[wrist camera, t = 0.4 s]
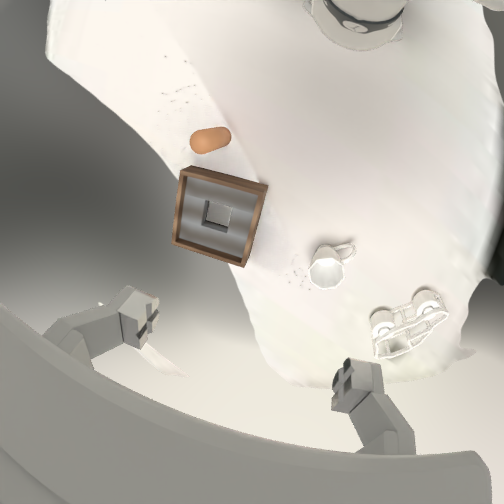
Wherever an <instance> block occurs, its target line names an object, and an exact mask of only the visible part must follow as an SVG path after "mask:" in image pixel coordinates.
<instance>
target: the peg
mask: <svg viewBox="0 0 504 504" xmlns="http://www.w3.org/2000/svg"><path fill="white" fill-rule="evenodd" d="M230 141H231V133H230V131H229V130H228V129H227V128H225V127H215V128H208V129H202V130H197V131H195V132H194V133H193V134H192V135H191V138H190V146H191V148H192V150H193V151H194V152H195V153H197V154H206V153H208V152H211V151H214V150H216V149H219V148H222V147H224V146H227V145H228V144H229V143H230Z"/></svg>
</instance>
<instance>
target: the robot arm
mask: <svg viewBox="0 0 504 504" xmlns="http://www.w3.org/2000/svg"><path fill="white" fill-rule="evenodd" d="M310 1H312V4H310V3H309V2H310ZM408 1H409V0H305V2H304V4H303V8H304V10H305V11H306V12H307V13H308V14H309V15H311V16H312V17H313V18H314V20H315V22H316V23H317V25H318V27H319V29H320V30H321V31H322V33H323V34H324V35H325V36H326V37H327V38H328V39H329V40H331V41H332V42H334V43H335V44H337V45H339V46H341V47H343V48H346V49H350V50H355V51H368V50H373V49H376V48H378V47H380V46H382V45H384V44H385V43H387V42H392V41H399V40H401V39H402V24H403V23H402V16H401V14H402V12H403V9H404V6H405V5H406V3H407V2H408ZM473 1H475V2H477V3H479V4H481V5H483V6H485V7H487V8H489V9H491V10H494V11H504V0H473ZM158 305H159V299H158V298H157V297H155V296H152V295H150V294H148V293H145V292H143V291H141V290H138V289H136V288H133V287H131V286H129V285H127V286H125V287H124V288H123V289H122V290H121V291H120V292H119V293H118V294H117V295H116V296H115V297H114V298H113V300H112V301H111V302H110V303H109V304H108V305H107V306H104V305H102V306H99V307H96V308H92V309H89V310H86V311H83V312H79V313H76V314H72V315H69V316H66V317H63V318H59V319H58V320H57V321H56V322H55V323H54V324H53V325H52V326H51V327H50V328H49V329H48V330H47V331H46V332H45V333H44V334H43V335H42V336H41V335H40V334H39V333H37V332H36V331H34V330H33V329H32V328H31V327H29V326H28V325H27V324H26V323H24V322H23V321H22V320H21V319H19V318H18V317H17V316H16V315H15V314H13V313H12V312H11V311H10V310H9V309H7V308H6V307H5V306H4V305H3V304H2V303H1V302H0V504H492V490H491V489H492V487H491V476H490V472H489V469H488V467H487V466H486V464H485V463H484V461H483V460H482V459H481V457H480V456H479V455H478V454H477V453H476V452H475V451H462V452H453V453H442V454H427V455H416V446H415V436H414V431H413V429H412V428H411V427H410V425H409V424H408V423H407V421H406V420H405V418H404V417H403V415H402V414H401V413H400V411H399V410H398V409H397V407H396V406H395V404H394V403H393V402H392V400H391V399H390V398H389V396H388V395H386V394H384V385H383V377H382V370H381V365H380V364H377V363H372V362H367V361H362V360H358V359H353V358H347V359H346V360H345V361H344V363H343V368H340V369H339V370H338V371H337V373H336V374H335V377H334V379H333V384H332V390H333V391H334V393H335V395H334V396H333V397H332V406H331V410H332V411H337V412H343V413H348V414H349V417H350V419H351V421H352V423H353V425H354V427H355V429H356V431H357V433H358V435H359V437H360V439H361V441H362V443H363V446H364V447H363V448H361V449H360V450H359V451H357V452H356V453H348V452H339V451H330V450H323V449H316V448H310V447H304V446H299V445H294V444H289V443H284V442H279V441H274V440H270V439H266V438H262V437H258V436H254V435H250V434H246V433H242V432H239V431H236V430H233V429H229V428H226V427H223V426H220V425H216V424H213V423H210V422H207V421H204V420H202V419H199V418H196V417H193V416H191V415H188V414H185V413H183V412H180V411H178V410H175V409H173V408H170V407H168V406H166V405H163V404H161V403H158V402H156V401H154V400H152V399H149V398H147V397H145V396H143V395H141V394H139V393H137V392H135V391H132V390H131V389H128V388H127V387H125V386H122V385H120V384H119V383H117V382H115V381H113V380H111V379H109V378H108V377H106V376H104V375H102V374H100V373H99V372H97V371H95V370H94V367H93V365H92V362H91V359H92V358H94V357H96V356H99V355H101V354H103V353H105V352H107V351H109V350H111V349H113V348H115V347H117V346H119V345H121V344H123V342H124V343H126V344H128V345H131V346H133V347H135V348H138V349H140V350H141V348H142V347H143V345H144V344H145V342H146V341H147V334H149V333H152V332H153V330H154V329H155V327H156V325H157V323H158V319H159V312H158V310H157V309H156V308H157V307H158Z"/></svg>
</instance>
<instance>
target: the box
mask: <svg viewBox="0 0 504 504" xmlns="http://www.w3.org/2000/svg"><path fill="white" fill-rule="evenodd" d="M267 189H268V186H267V185H264V184H261V183H257V182H254V181H250V180H246V179H243V178H239V177H235V176H232V175H228V174H224V173H220V172H216V171H212V170H209V169H205V168H200V167H196V166H192V165H191V166H189V167H186V168H184V169H182V170H180V177H179V184H178V191H177V198H176V207H175V215H174V224H173V233H172V244H173V245H176V246H179V247H182V248H185V249H188V250H191V251H194V252H197V253H200V254H203V255H206V256H209V257H212V258H215V259H218V260H221V261H224V262H227V263H230V264H233V265H236V266H240V267H243V268H244V267H245V265H246V263H247V260H248V258H249V256H250V252H251V249H252V245H253V241H254V237H255V234H256V230H257V226H258V222H259V219H260V215H261V211H262V207H263V204H264V200H265V196H266V192H267ZM209 201H211V202H215V203H218V204H222V205H225V206H229V207H232V212H231V217H230V221H229V226H224V225H221V224H218V223H214V222H211V221H208V220H206V218H207V212H208V207H209Z"/></svg>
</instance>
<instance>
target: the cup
mask: <svg viewBox="0 0 504 504" xmlns="http://www.w3.org/2000/svg"><path fill="white" fill-rule="evenodd" d="M348 247H353V251H352V253H351V254H350V256H348V257H347V258H344V259H342V260H341V259H340V256H339V254H338V253H337V252H336V251H337V250H339V249H342V248H348ZM355 255H356V247H355V245H354V244H353V243H347V244H341V245H338V246H336V247H332V246H331V245H329V244H326V245H320V247H319V248H318V249H317V250H316V254H315V255H314V257H313V258H312V261H311V264H310V266H309V269H308V273H309V278H310V283H312V284H313V285H315V286H317V287H318V288H320V289H321V290H324V289H332V288H336V287H337V286H338V285H339V284H340V283H341V282H342V281H343V280H344V279H345V273H344V264H346V263H347V262H349V261H350V260H352V259H353V258H354V256H355Z"/></svg>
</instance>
